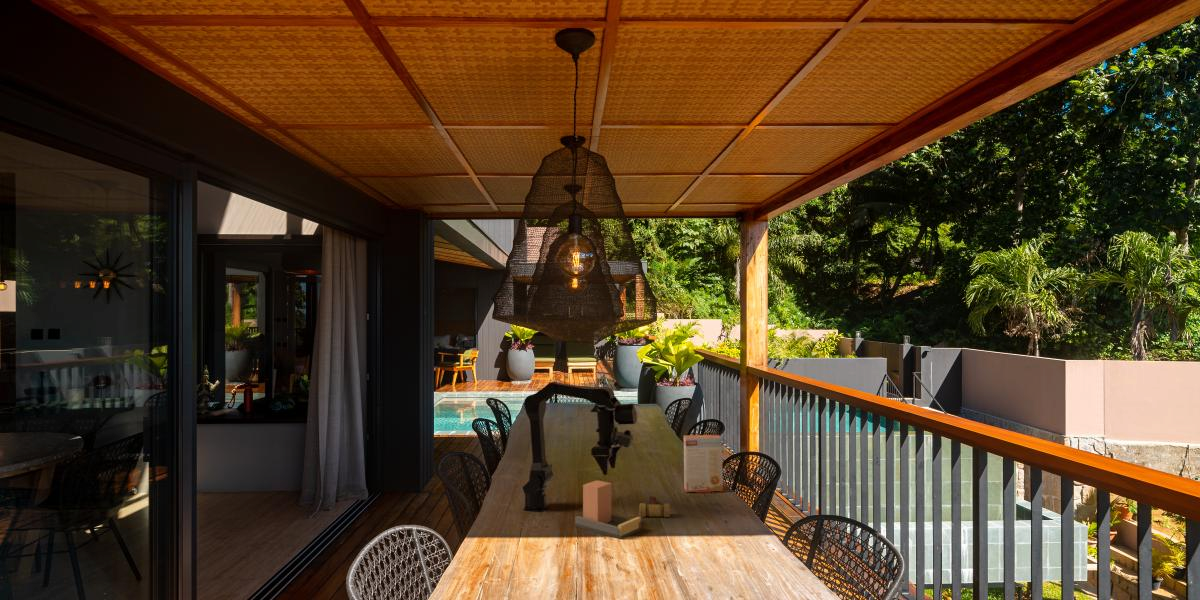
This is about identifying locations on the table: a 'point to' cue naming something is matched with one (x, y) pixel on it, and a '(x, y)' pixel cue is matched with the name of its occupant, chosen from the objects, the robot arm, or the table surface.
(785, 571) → the table surface
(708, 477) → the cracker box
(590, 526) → the gray tray
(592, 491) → the block
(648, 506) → the gavel
